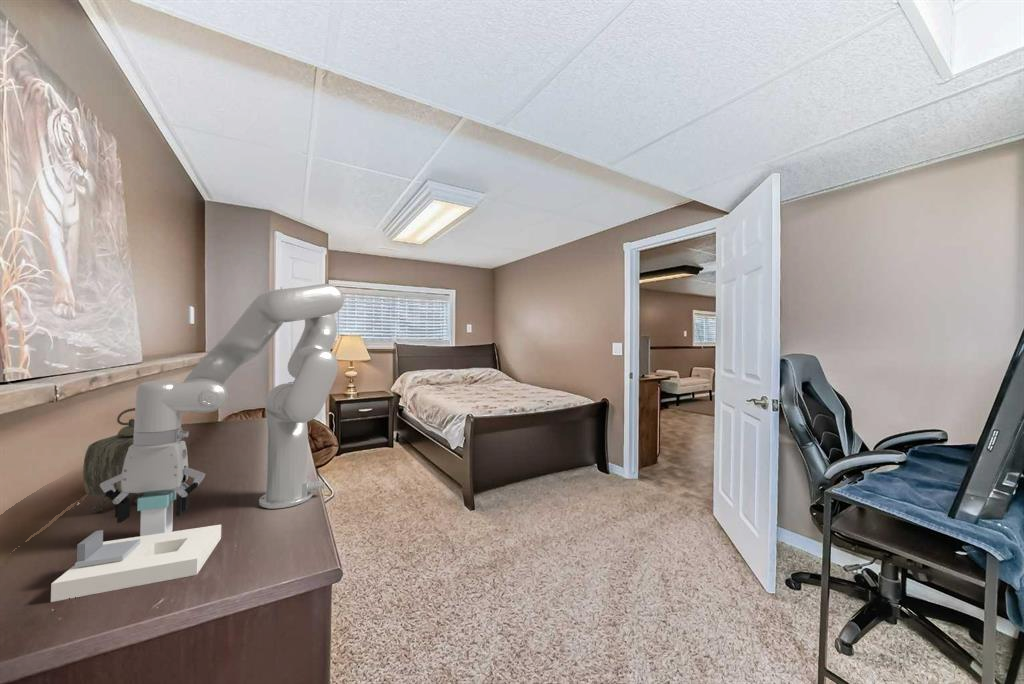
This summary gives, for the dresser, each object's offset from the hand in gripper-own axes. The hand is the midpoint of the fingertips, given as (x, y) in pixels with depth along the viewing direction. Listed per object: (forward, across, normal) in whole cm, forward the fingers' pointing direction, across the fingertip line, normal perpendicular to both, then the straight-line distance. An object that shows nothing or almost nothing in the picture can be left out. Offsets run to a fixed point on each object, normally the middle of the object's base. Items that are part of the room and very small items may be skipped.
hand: (152, 516), depth 81 cm
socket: (+5, -4, +13) cm, 14 cm away
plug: (+5, -1, 0) cm, 5 cm away
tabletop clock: (+5, +13, -24) cm, 28 cm away
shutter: (+2, +1, +13) cm, 13 cm away
